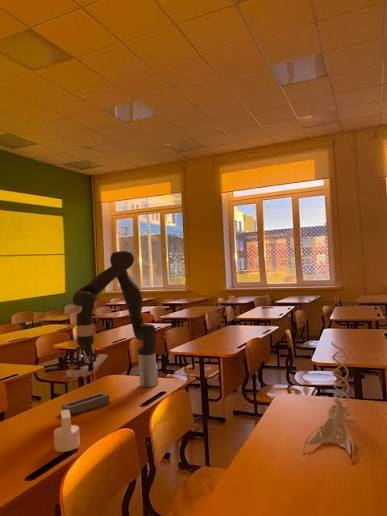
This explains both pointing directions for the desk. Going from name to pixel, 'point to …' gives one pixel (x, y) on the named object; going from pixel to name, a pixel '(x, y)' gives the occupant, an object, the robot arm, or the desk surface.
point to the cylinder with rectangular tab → (66, 434)
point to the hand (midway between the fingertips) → (86, 369)
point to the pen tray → (86, 403)
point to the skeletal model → (333, 429)
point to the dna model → (340, 376)
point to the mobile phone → (86, 368)
